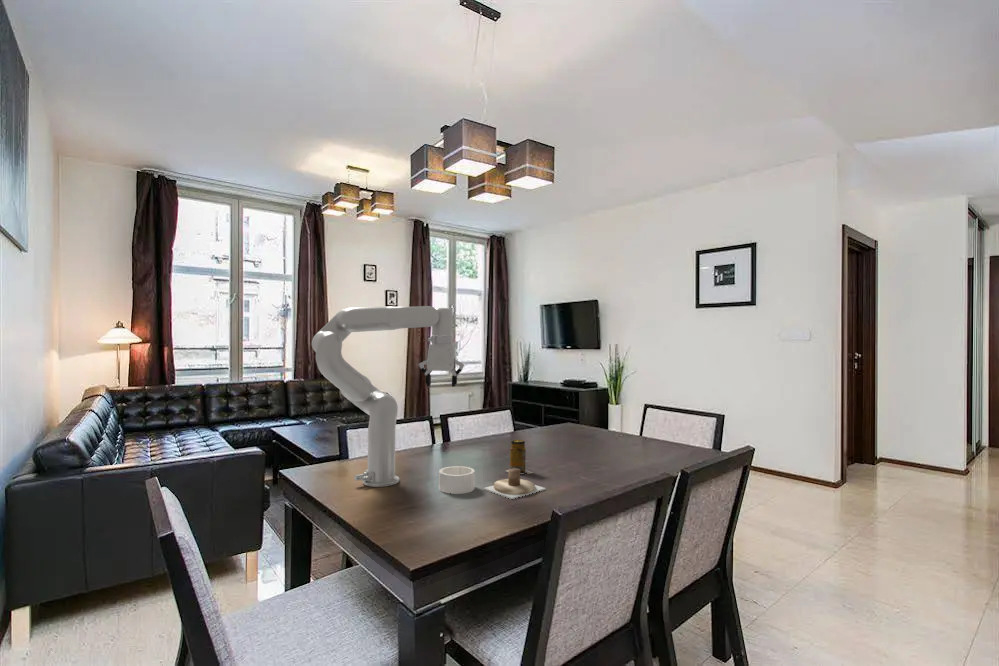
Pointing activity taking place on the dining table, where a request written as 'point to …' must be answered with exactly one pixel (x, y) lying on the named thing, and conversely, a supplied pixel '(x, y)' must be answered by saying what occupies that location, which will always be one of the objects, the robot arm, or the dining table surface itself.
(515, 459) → the condiment
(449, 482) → the bowl
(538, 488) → the mat
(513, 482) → the lid
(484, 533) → the dining table surface
